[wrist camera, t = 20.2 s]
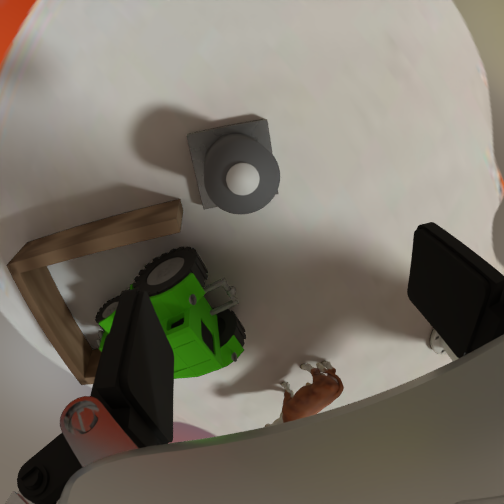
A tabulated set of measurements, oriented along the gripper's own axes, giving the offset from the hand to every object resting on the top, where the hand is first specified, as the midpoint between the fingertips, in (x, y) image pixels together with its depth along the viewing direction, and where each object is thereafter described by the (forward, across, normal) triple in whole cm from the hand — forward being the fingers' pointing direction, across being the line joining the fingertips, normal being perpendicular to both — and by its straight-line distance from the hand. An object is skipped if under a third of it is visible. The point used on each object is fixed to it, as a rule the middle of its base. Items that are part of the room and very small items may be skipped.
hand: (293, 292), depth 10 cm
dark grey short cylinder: (+19, 0, 0) cm, 19 cm away
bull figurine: (+21, -3, +32) cm, 38 cm away
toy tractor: (+21, +10, +13) cm, 27 cm away
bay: (+20, +14, +11) cm, 27 cm away
